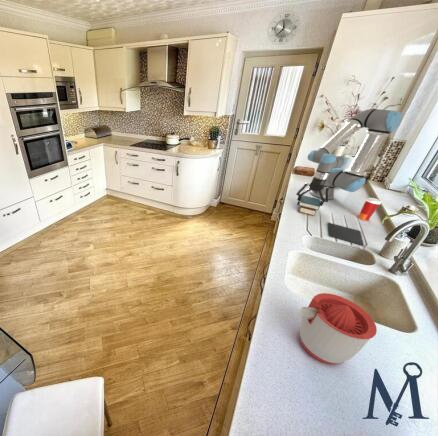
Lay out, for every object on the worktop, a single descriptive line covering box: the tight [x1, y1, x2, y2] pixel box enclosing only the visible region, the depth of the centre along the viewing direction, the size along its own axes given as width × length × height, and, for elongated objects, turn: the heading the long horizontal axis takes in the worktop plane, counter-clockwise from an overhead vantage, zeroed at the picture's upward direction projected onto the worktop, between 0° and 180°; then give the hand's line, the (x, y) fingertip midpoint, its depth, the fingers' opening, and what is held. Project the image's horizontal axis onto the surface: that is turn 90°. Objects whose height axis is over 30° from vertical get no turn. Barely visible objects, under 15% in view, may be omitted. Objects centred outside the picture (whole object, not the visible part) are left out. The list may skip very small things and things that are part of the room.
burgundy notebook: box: [298, 206, 317, 217], centre depth 165 cm, size 17×9×4 cm, turn 146°
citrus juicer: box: [298, 292, 378, 365], centre depth 72 cm, size 16×17×20 cm
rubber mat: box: [328, 222, 364, 247], centre depth 139 cm, size 18×16×1 cm
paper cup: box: [357, 197, 382, 221], centre depth 154 cm, size 8×8×14 cm
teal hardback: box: [298, 194, 321, 211], centre depth 163 cm, size 14×12×3 cm
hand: (307, 207), depth 165 cm, fingers closed on teal hardback, 11 cm apart
